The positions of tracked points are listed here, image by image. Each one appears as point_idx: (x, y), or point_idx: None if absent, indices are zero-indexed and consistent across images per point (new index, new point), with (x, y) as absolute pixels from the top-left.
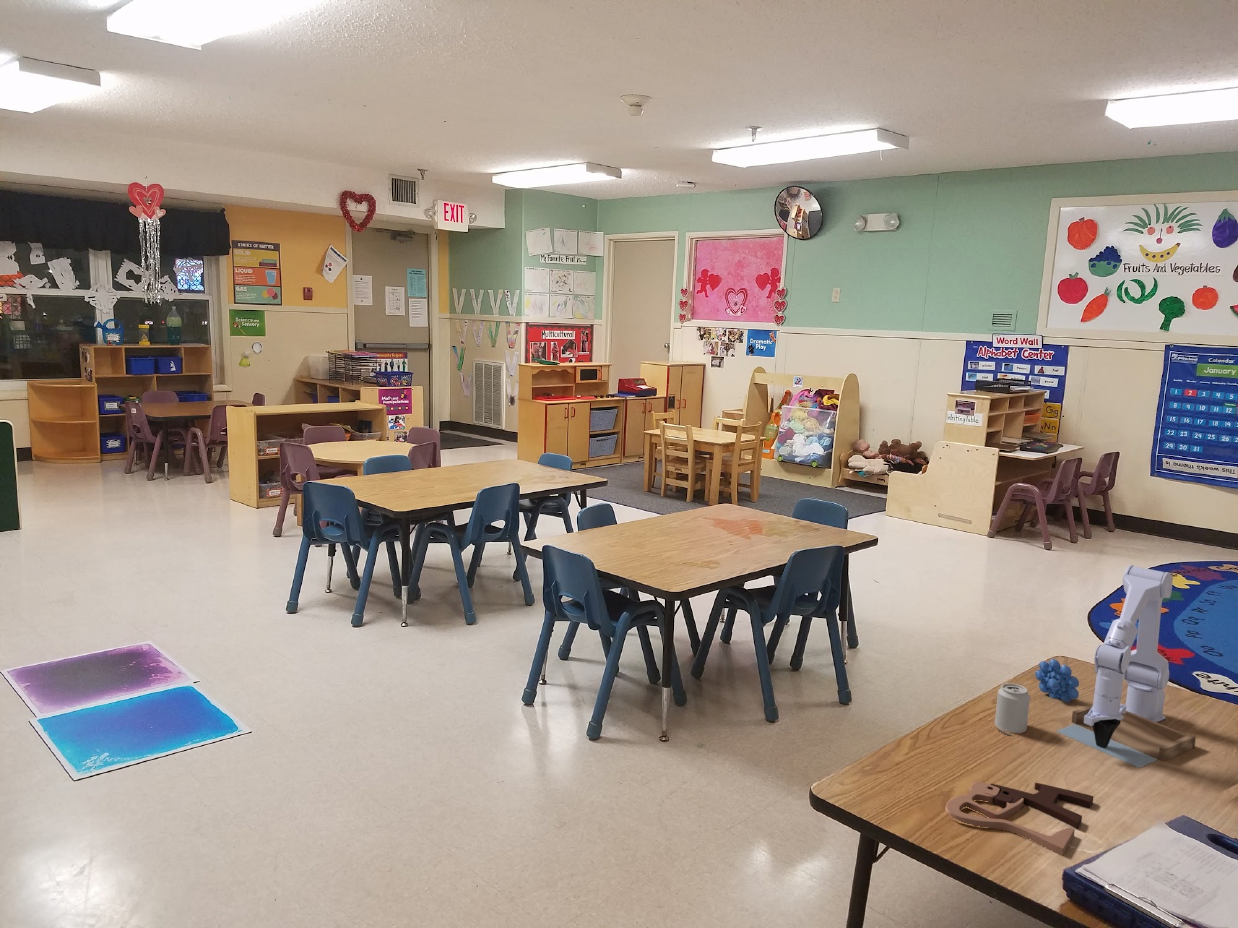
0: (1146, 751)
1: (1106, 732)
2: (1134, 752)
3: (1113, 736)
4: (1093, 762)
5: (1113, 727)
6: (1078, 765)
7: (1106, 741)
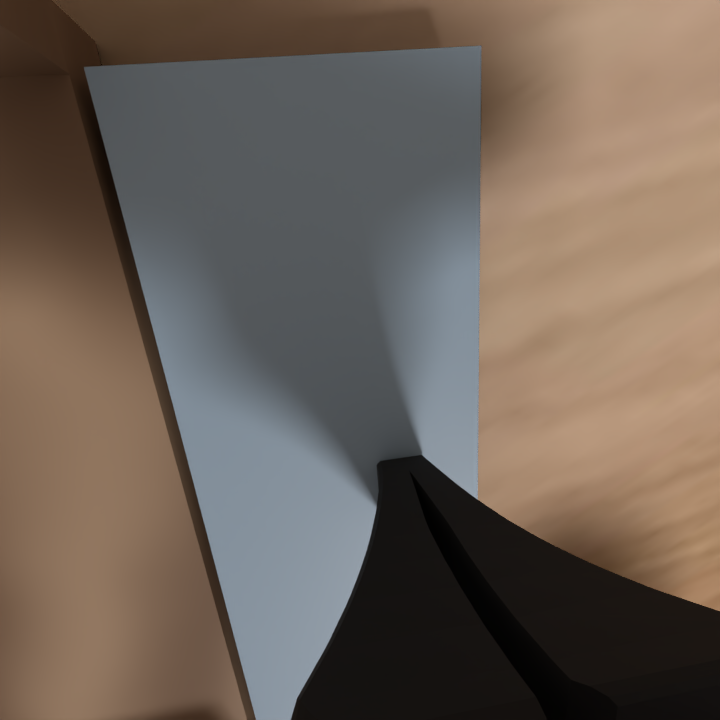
0: (59, 264)
1: (578, 560)
2: (213, 302)
3: (137, 568)
4: (580, 371)
5: (481, 627)
6: (700, 380)
7: (444, 482)
